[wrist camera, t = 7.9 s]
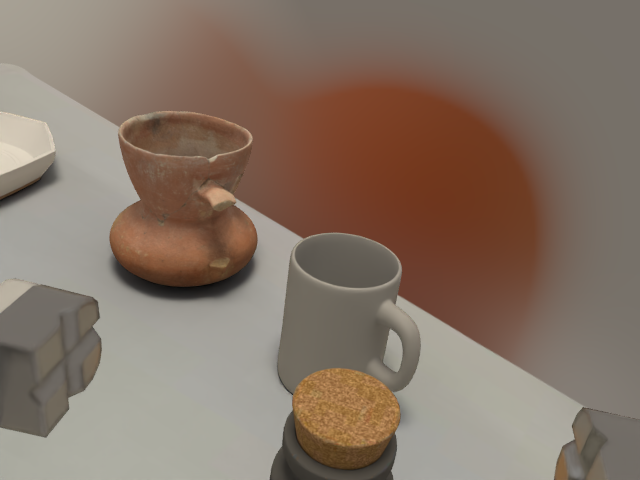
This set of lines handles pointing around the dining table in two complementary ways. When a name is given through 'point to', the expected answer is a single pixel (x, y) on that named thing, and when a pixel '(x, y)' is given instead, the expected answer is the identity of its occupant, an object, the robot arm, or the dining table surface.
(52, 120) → the dining table surface
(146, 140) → the ceramic jug
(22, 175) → the pan
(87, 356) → the robot arm
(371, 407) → the bottle
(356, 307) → the mug
